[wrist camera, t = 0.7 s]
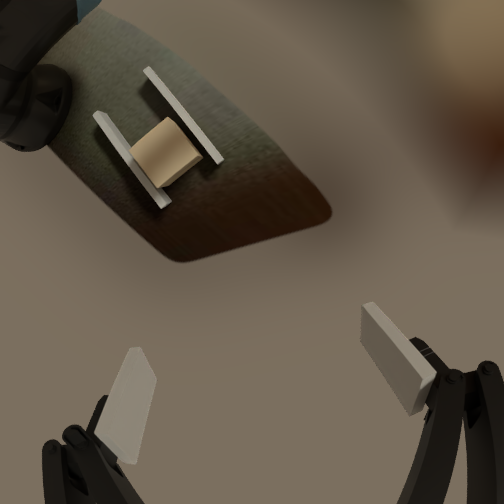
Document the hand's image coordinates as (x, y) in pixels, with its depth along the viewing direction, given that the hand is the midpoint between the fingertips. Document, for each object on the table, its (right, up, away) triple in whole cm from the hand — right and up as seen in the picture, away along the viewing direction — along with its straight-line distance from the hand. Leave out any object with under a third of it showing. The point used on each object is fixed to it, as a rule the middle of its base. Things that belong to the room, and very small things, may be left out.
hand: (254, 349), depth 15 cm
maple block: (-11, +18, +19) cm, 29 cm away
